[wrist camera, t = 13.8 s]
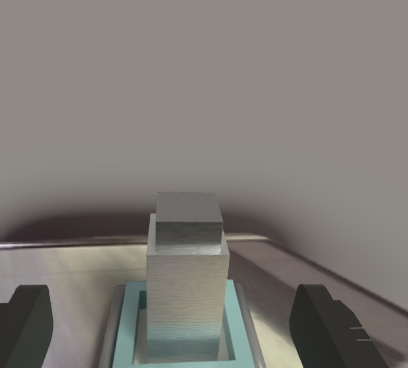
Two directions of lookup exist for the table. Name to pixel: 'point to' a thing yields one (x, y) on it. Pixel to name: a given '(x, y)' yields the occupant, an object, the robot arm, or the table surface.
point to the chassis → (137, 332)
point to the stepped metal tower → (185, 278)
